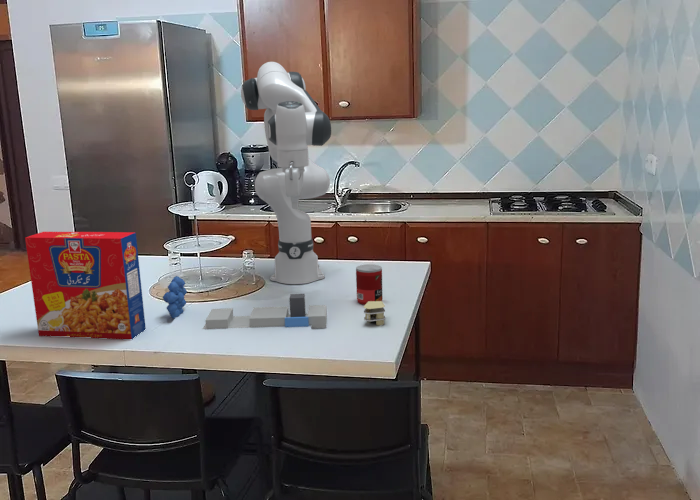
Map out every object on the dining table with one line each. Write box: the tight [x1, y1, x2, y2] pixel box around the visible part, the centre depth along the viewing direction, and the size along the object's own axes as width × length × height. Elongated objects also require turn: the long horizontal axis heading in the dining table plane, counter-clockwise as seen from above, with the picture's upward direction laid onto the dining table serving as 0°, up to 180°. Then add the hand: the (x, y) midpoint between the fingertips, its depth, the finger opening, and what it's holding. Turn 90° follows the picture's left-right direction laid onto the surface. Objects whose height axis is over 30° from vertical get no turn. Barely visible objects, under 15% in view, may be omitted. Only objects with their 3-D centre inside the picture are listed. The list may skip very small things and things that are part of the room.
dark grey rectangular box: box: [289, 293, 307, 317], centre depth 195 cm, size 4×4×7 cm
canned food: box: [355, 263, 383, 306], centre depth 212 cm, size 8×8×11 cm
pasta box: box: [24, 231, 147, 340], centre depth 190 cm, size 28×8×28 cm, turn 79°
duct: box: [202, 304, 328, 330], centre depth 195 cm, size 11×34×4 cm, turn 91°
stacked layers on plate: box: [363, 300, 386, 326], centre depth 194 cm, size 10×9×6 cm
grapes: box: [162, 275, 188, 320], centre depth 204 cm, size 12×7×12 cm, turn 174°
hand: (295, 208), depth 200 cm, fingers closed
